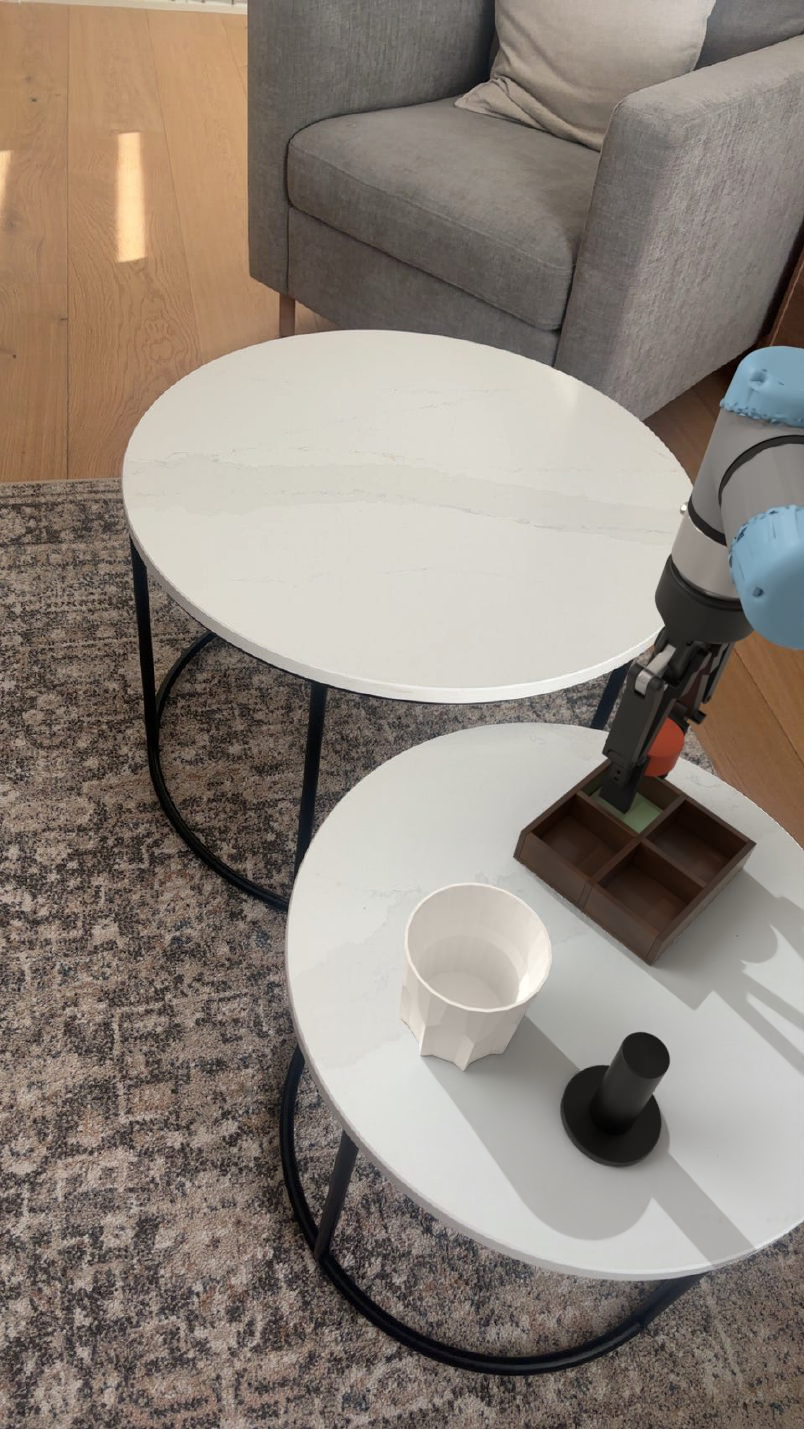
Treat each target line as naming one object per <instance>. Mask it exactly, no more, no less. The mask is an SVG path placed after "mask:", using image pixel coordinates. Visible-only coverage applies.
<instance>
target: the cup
mask: <svg viewBox="0 0 804 1429" xmlns="http://www.w3.org/2000/svg"><path fill="white" fill-rule="evenodd" d="M403 941H404V945H403V947H404V948H403V960H402V961H403V962H402V963H403V964H402V980H401V981H402V984H401V993H400V994H401V995H400V1003H399V1004H400V1005H399V1017H398V1018H399V1019H400V1020H401V1021H403V1022H404V1023H406V1024H407V1025H408V1026H409V1028H410V1029H411V1032H412V1033H413V1035H414V1038H415V1039H416V1041H417V1043H418V1047H419V1056H420V1057H422V1056H434V1057H437V1058H439V1059H441V1060H445V1061H447V1062H450V1063H453V1064H455V1066H457V1067H458V1068H459V1069H460V1070H461V1071H462V1072H464V1071H465V1070H466V1069H467V1068H468V1067H469V1065H470V1064H471V1063H473V1062H475V1061H478V1060H479V1059H483V1058H485V1057H487V1056H489V1055H504V1052H505V1050H506V1049H507V1047H508V1045H509V1043H510V1041H511V1039H512V1038H513V1036H514V1034H515V1032H516V1031H517V1029H518V1027H519V1025H520V1023H521V1022H522V1020H523V1018H524V1016H525V1015H526V1013H527V1012H528V1010H529V1008H530V1006H531V1004H532V1003H533V1001H534V1000H535V998H536V997H537V995H538V993H539V991H540V990H541V988H542V987H543V986H544V984H545V982H546V980H547V979H548V977H549V974H550V969H551V967H552V961H553V954H552V953H553V952H552V942H551V940H550V937H549V934H548V931H547V927H546V926H545V924H544V923H543V922H542V920H541V919H540V917H539V915H538V914H537V912H536V911H535V910H534V909H532V907H530V906H529V904H527V903H526V902H525V901H524V900H523V899H521V898H520V897H518V896H516V895H514V894H513V893H511V892H509V891H508V890H506V889H503V888H500V887H497V886H494V885H491V884H488V883H480V882H470V881H469V882H460V883H452V884H449V885H446V886H443V887H440V888H438V889H437V888H436V889H435V890H433V891H432V892H430V893H429V894H428V895H426V896H425V897H423V898H422V899H421V900H419V902H418V904H416V906H415V907H414V908H413V910H412V911H411V912H410V915H409V917H408V920H407V922H406V925H405V928H404V940H403Z"/></svg>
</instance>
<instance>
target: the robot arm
mask: <svg viewBox="0 0 804 1429" xmlns="http://www.w3.org/2000/svg"><path fill="white" fill-rule="evenodd" d="M719 407H720V410H719V412H718V416H717V418H716V421H715V424H714V427H713V430H712V433H711V436H710V438H709V441H708V444H707V447H706V449H705V453H704V456H703V458H702V460H701V461H702V462H701V464H700V466H699V469H698V473H697V475H696V478H695V482H694V484H693V487H692V490H691V492H690V496H689V498H688V501H685V502H684V503H683V504H682V505H680V508H679V514H681V516H682V519H681V522H680V524H679V527H678V529H677V533H676V535H675V538H674V541H673V544H672V547H671V551H670V553H669V555H668V556H667V559H666V561H665V564H664V567H663V569H662V573H661V575H660V578H659V580H658V583H657V586H656V589H655V593H654V604H655V607H656V610H657V612H658V613H659V616H660V617H661V620H662V622H663V625H664V626H662V628H661V629H660V630H659V632H658V634H657V636H656V637H655V639H654V642H653V648H654V650H653V651H652V653H651V655H650V657H649V659H648V661H647V663H646V665H645V666H643V665H642V664H640V663H639V662H635V663H633V664H632V665H631V666H630V667H629V670H628V672H627V674H626V684H625V689H624V692H623V694H622V697H621V700H620V702H619V705H618V708H617V710H616V713H615V716H614V718H613V720H612V724H611V726H610V729H609V732H608V734H607V737H606V739H605V743H604V746H603V748H602V751H601V754H602V755H603V756H605V757H606V759H607V758H609V759H610V760H611V763H610V766H609V769H608V771H607V774H606V777H605V779H604V782H603V785H602V787H601V790H600V793H599V795H598V796H599V797H601V798H602V799H604V800H605V801H606V802H608V803H609V804H610V805H612V806H613V807H614V808H616V809H617V810H619V811H620V812H621V813H623V814H624V815H625V814H626V813H627V812H628V811H629V810H630V808H631V805H632V803H633V800H634V798H635V796H636V793H637V791H638V788H639V786H640V783H641V781H642V779H643V776H644V774H645V771H646V769H647V767H648V764H649V762H650V759H651V758H650V757H649V756H647V755H648V753H649V751H650V749H651V747H652V745H653V743H654V741H655V739H656V738H657V736H658V734H659V732H660V730H661V728H662V726H663V724H664V722H665V720H666V719H667V717H668V718H669V719H671V720H672V721H674V722H675V723H676V724H677V725H678V726H679V727H680V729H681V730H682V732H683V734H684V738H685V737H686V735H687V733H688V730H689V727H690V725H691V723H690V722H688V721H691V722H693V723H694V724H695V725H696V726H700V725H702V723H703V722H704V720H705V719H706V717H707V713H705V712H703V711H702V710H700V708H701V704H703V705H706V704H708V703H709V702H711V700H712V698H713V695H714V693H715V691H716V688H717V686H718V683H719V681H720V679H721V677H722V674H723V673H724V670H725V668H726V665H727V663H728V662H729V658H730V656H731V655H732V654H731V653H732V652H733V650H734V647H735V645H736V643H738V642H740V641H742V640H745V639H746V638H748V637H749V636H751V634H752V633H754V632H756V633H757V634H758V635H760V636H761V637H762V638H764V639H765V640H767V641H768V642H770V643H771V644H774V645H775V646H776V645H777V646H779V647H782V648H785V649H790V650H794V651H795V650H796V651H804V348H801V347H793V346H787V345H776V346H775V345H774V346H767V347H762V348H759V349H756V350H753V351H752V352H750V353H749V354H747V355H746V356H745V357H744V358H743V359H742V360H741V361H740V363H739V364H738V366H737V369H736V371H735V372H734V375H733V377H732V380H731V382H730V384H729V386H728V389H727V391H726V393H725V396H724V397H723V398H722V399H721V400H720V402H719ZM669 773H670V772H668V773H667V774H664V775H661V776H657V777H659V778H660V779H661V780H663V779H666V778H667V777H668V776H669Z"/></svg>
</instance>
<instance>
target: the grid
mask: <svg viewBox="0 0 804 1429" xmlns="http://www.w3.org/2000/svg"><path fill="white" fill-rule="evenodd" d="M610 763H611V760H610V759H609V758H607V757H606V758H605V760H603V761H602V762H601V763H600V764H599V765H598V766H596V767H595V768H594V769H593V770H592V771H591V772H589V773H588V774H587V775H586V776H585V777H583V778H582V779H580V781H578V782H577V783H576V784H575V785H574V786H572V788H570V789H569V790H568V791H566V793H564V794H563V795H562V796H561V797H559V798H558V799H557V800H556V801H555V802H554V803H553V804H551V805H550V806H548V808H546V809H545V810H544V811H543V812H542V813H541V814H539V815H538V816H537V817H535V818H534V819H533V820H532V821H531V822H530V823H528V824H527V825H526V826H524V828H522V829H521V830H520V831H519V836H518V839H517V842H516V846H515V849H514V852H513V855H512V857H513V858H514V859H516V860H517V862H519V863H520V864H522V865H523V866H524V867H525V868H527V870H529V871H530V872H532V873H533V874H534V875H535V876H537V877H538V878H539V879H540V880H542V881H543V882H544V883H545V884H547V885H548V886H549V887H550V888H552V889H553V890H554V891H556V892H557V893H558V894H559V895H560V896H561V897H563V898H564V899H565V900H566V901H568V902H569V903H571V904H572V905H573V906H574V907H575V908H576V909H578V910H579V911H581V912H582V913H583V914H584V915H585V916H586V917H588V918H589V919H591V920H592V921H593V922H594V923H595V924H596V925H598V926H599V927H600V928H602V929H603V930H604V931H606V932H607V933H608V934H609V935H610V936H612V937H613V938H614V939H615V940H617V941H618V942H619V943H620V944H622V945H623V946H624V947H625V948H627V949H628V950H629V951H631V952H632V954H634V955H636V956H637V957H638V958H639V959H640V960H642V961H643V963H645V964H647V965H648V966H649V967H651V966H652V965H653V964H654V963H656V961H657V960H658V959H659V958H660V957H661V956H662V955H663V954H664V953H665V952H666V950H668V949H669V947H671V945H672V944H673V943H674V942H676V940H677V939H678V938H679V937H680V936H681V935H682V934H683V933H684V931H686V929H687V928H688V927H689V926H690V925H691V924H692V923H693V922H694V921H695V920H696V919H697V918H698V917H699V916H700V915H701V913H703V911H704V910H705V909H706V908H707V907H708V906H709V905H710V904H711V903H712V902H713V901H714V900H715V898H716V897H717V896H718V895H719V894H721V892H722V891H724V889H725V888H726V887H727V886H728V885H729V884H730V883H731V882H732V880H734V878H735V877H736V876H737V875H738V874H739V873H740V872H741V871H742V870H743V869H744V868H745V866H746V864H747V862H748V860H749V858H750V857H751V855H752V853H753V852H754V850H755V848H756V846H757V844H758V843H757V842H756V841H755V840H753V839H751V838H750V837H748V836H747V835H745V834H744V833H743V832H741V831H740V830H739V829H737V828H736V827H734V826H733V825H731V824H730V823H729V822H727V821H726V820H724V819H722V818H721V817H720V816H719V815H717V814H716V813H714V812H713V811H712V810H710V809H708V808H707V807H706V806H704V805H703V804H702V803H700V802H699V801H698V800H696V799H694V798H693V797H692V796H691V795H689V794H687V793H686V792H684V791H683V790H682V789H680V788H679V787H678V786H676V785H675V784H673V783H672V782H671V781H669V780H668V779H666V778H665V779H663V780H661V779H660V778H659V777H657V776H647V775H644V776H643V779H642V781H641V783H640V786H639V788H638V791H637V793H636V796H635V798H634V800H633V803H632V805H631V808H630V810H629V811H628V812H627V813H626V814H625V815H624V814H623V813H621V812H620V811H619V810H617V809H616V808H614V807H613V806H612V805H610V804H609V803H608V802H606V801H605V800H604V799H602V798H601V797H599V796H598V795H599V793H600V790H601V787H602V785H603V782H604V779H605V777H606V774H607V771H608V769H609V766H610Z"/></svg>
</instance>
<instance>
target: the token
mask: <svg viewBox="0 0 804 1429" xmlns="http://www.w3.org/2000/svg"><path fill="white" fill-rule="evenodd" d="M685 741H686V740H685V737H684V734H683V732H682V730H681V729H680V727H679V726H678V725H677V724H676V723H675V722H674V721H672V720H671V719H669V718H668V717H667V719H666V720H665V722H664V724H663V726H662V728H661V730H660V732H659V734H658V736H657V738H656V739H655V741H654V743H653V745H652V747H651V749H650V751H649V753H648V755H647V756H649V757H650V758H651V759H650V762H649V764H648V767H647V769H646V771H645V774H644V775H647V776H661V775H664V774H667V773H668V772H669V773H670V772H671V771H673V770H674V768H675V766H676V764H677V763H678V760H679V758H680V756H681V753H682V751H683V749H684V747H685V743H686V742H685ZM669 773H668V774H669Z"/></svg>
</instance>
